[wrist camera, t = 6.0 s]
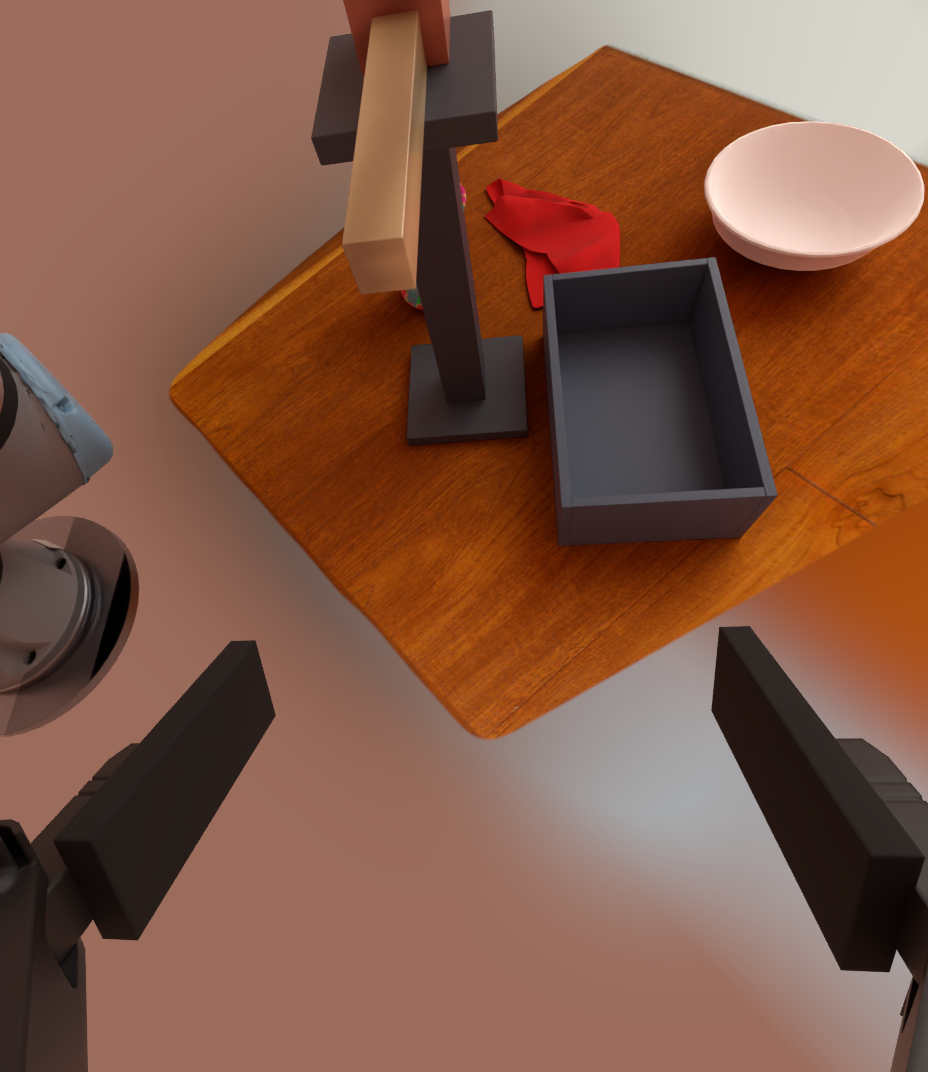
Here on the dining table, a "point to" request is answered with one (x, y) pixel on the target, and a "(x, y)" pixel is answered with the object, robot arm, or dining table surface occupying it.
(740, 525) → the bin
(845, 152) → the bowl
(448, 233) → the stand
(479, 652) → the dining table surface
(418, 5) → the mallet
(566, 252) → the cloth
